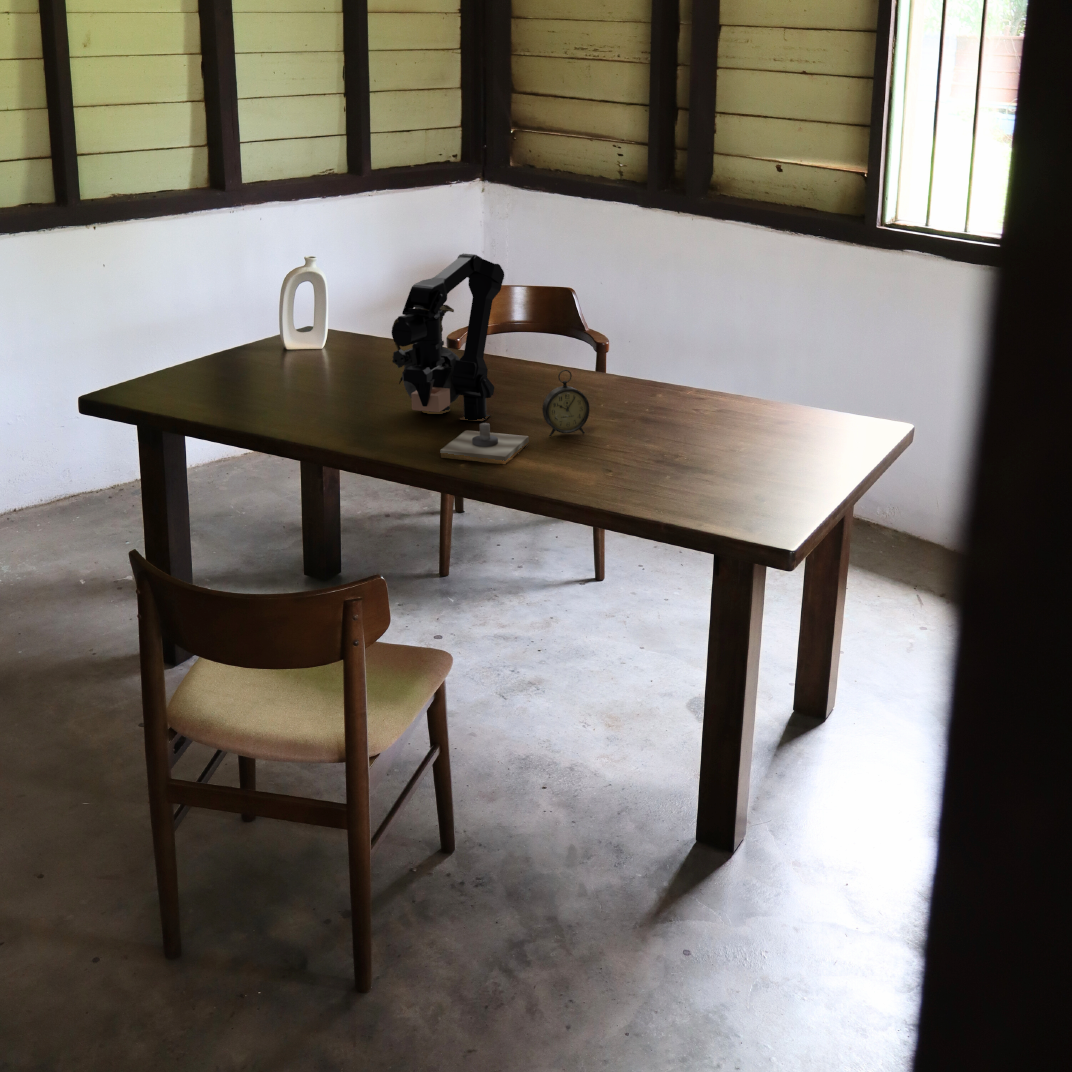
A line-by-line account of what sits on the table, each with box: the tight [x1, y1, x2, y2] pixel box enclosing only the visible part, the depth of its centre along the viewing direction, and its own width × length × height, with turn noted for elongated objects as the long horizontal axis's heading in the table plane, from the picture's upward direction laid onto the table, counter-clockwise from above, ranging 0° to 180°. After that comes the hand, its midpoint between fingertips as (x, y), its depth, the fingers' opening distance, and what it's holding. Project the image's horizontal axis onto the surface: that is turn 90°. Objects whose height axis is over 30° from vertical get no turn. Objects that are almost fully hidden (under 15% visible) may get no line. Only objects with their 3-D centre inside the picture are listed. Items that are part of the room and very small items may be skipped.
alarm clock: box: [541, 369, 591, 437], centre depth 286 cm, size 11×5×16 cm, turn 105°
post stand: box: [439, 422, 530, 461], centre depth 276 cm, size 16×16×6 cm
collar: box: [410, 387, 451, 412], centre depth 284 cm, size 7×7×4 cm
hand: (431, 402), depth 284 cm, fingers closed on collar, 7 cm apart
